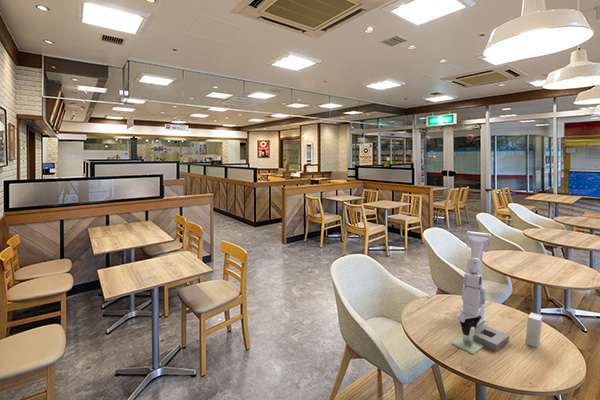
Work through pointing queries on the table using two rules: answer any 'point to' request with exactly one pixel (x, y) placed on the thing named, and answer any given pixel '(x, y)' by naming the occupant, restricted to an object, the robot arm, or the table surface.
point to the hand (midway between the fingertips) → (468, 332)
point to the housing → (490, 337)
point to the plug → (469, 338)
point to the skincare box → (533, 329)
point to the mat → (467, 345)
